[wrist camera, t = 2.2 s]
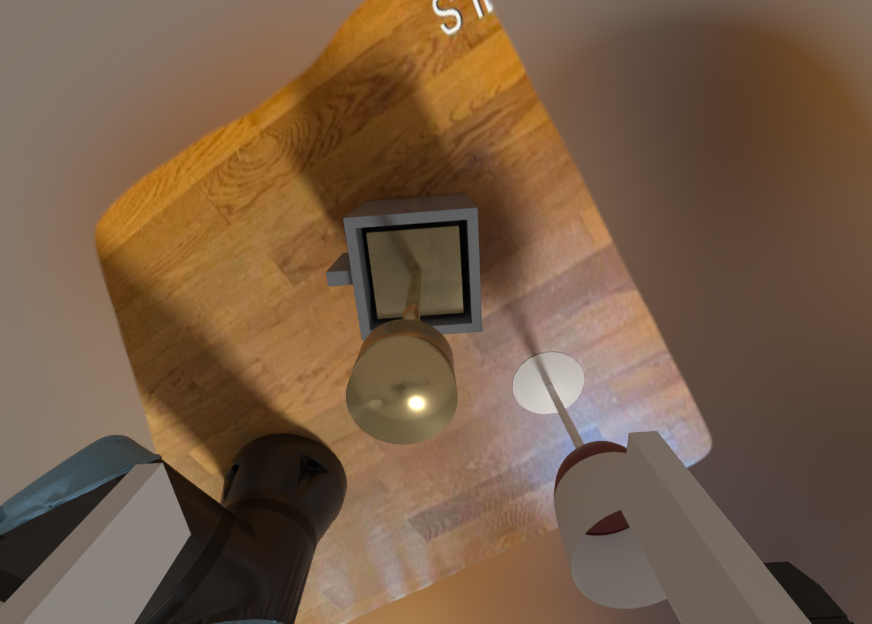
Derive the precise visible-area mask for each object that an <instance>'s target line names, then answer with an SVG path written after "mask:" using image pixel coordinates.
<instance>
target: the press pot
mask: <svg viewBox="0 0 872 624" xmlns="http://www.w3.org/2000/svg"><path fill="white" fill-rule="evenodd" d="M343 221H344V228H345V234H346V241H347V247H348V253H343V254H342V255H341V256H340V257H339V258H338V259H337V260H336V261H335V263H334V264H333V265H332V266H331V267H330V268H329V269H328V270H327V272H326V276H327V282H328V286H339V285H353V287H354V293H355V300H356V306H357V313H358V319H359V326H360V332H361V339H362V340H365V339H366V337H367V336H368V335H369V334H370V333H371V332H372V331H373V330H374V329H375V328H377V327H378V326H380V325H382V324H384V323H386V322H389V321H393V320H398V319H403V317H396V318H382V319H378V316H377V309H376V301H375V294H374V286H373V279H372V272H371V264H370V257H369V249H368V242H367V235H366V233H367V232H368V231H378V230H392V229H405V228H418V227H431V226H444V225H457V224H458V225H459V238H460V257H461V276H462V295H463V313H451V314H437V315H423V316H420V321H421V322H424V323H427V324H428V325H430V326H432V327H434V328H435V329H437V330H438V331H439V332H440V333H441V334H454V333H468V332H482V315H481V287H480V259H479V231H478V208H477V206H476V205H475V204H474V203H473V202H472V201H471V200H470V198H469V197H468V196H467V195H466V194H465V193H462V194H450V195H437V196H424V197H411V198H398V199H385V200H372V201H366V202H365V203H363V204H362V205H360V206H359V207H358V208H356V209H355V210H353V211H352V212H351V213H349V214H348V215H347V216H345V217H344V218H343Z"/></svg>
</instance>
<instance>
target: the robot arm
mask: <svg viewBox="0 0 872 624" xmlns="http://www.w3.org/2000/svg"><path fill="white" fill-rule="evenodd" d="M161 458H162V457H161V456H160V455H159V454H154V453H152V452H150V451H149V450H147V449H146V448H144V447H143V446H141V445H140V444H138V443H137V442H135V441H134V440H132V439H131V438H129V437H127V436H123V435H111V436H106V437H103V438H101V439H99V440H97V441H95V442H93V443H92V444H90V445H88V446H87V447H85V448H84V449H82V450H80V451H79V452H77V453H76V454H74V455H73V456H71V457H70V458H68V459H66V460H65V461H63V462H62V463H60V464H59V465H58V466H56V467H55V468H53V469H52V470H50V471H49V472H47V473H46V474H44V475H43V476H41V477H40V478H38V479H37V480H36V481H34V482H33V483H31V484H30V485H28V486H27V487H25V488H24V489H23V490H21V491H20V492H18V493H17V494H16V495H14V496H13V497H11V498H10V499H9V500H7V501H6V502H4V503H3V505H1V506H0V624H294V622H295V619H296V615H297V612H298V608H299V605H300V601H301V598H302V594H303V591H304V587H305V584H306V580H307V577H308V573H309V570H310V566H311V563H312V559H313V555H314V552H315V549H316V546H317V544H318V542H319V541H320V539H321V538H322V537H323V535H324V534H325V532H326V531H327V530H328V528H329V527H330V525H331V524H332V522H333V521H334V520H335V518H336V517H337V515H338V514H339V512H340V510H341V508H342V505H343V501H344V497H345V493H346V488H347V480H346V475H345V472H344V469H343V467H342V465H341V464H340V462H339V461H338V459H337V458H336V457H335V456H334V455H333V454H332V453H331V452H330V451H329V450H328V449H326V448H325V447H324V446H322V445H320V444H319V443H317V442H315V441H313V440H310V439H307V438H304V437H301V436H296V435H289V434H276V435H269V436H264V437H261V438H258V439H256V440H254V441H252V442H250V443H249V444H247V445H246V446H245V447H243V448H242V449H241V450H240V452H239V453H238V454H237V456H236V457H235V459H234V460H233V462H232V464H231V465H230V467H229V469H228V471H227V473H226V476H225V480H224V485H223V491H222V496H221V501H220V503H218V502H217V501H216V500H214V499H213V498H212V497H210V496H209V495H208V494H206V493H205V492H204V491H202V490H201V489H200V488H198V487H197V486H196V485H194V484H193V483H192V482H190V481H189V480H188V479H186V478H185V477H184V476H182V475H181V474H180V473H179V472H177V471H176V470H175V469H174V468H172V467H171V466H170V465H169V464H167V463H166V462H165V461H163V460H162V459H161ZM620 509H621V511H622V513H623V515H624V517H625V519H626V521H627V522H628V524H629V526H630V528H631V530H632V532H633V534H634V536H635V538H636V540H637V541H638V543H639V545H640V547H641V549H642V551H643V553H644V555H645V557H646V559H647V560H648V562H649V564H650V566H651V568H652V570H653V572H654V574H655V576H656V578H657V579H658V581H659V583H660V585H661V587H662V589H663V591H664V593H665V595H666V597H667V598H668V600H669V602H670V604H671V606H672V608H673V610H674V612H675V614H676V616H677V617H678V619H679V621H680V623H681V624H854V623H853V622H850V621H849V620H848V619H847V615H846V614H845V613H844V612H843V611H842V610H841V609H840V607H839V606H838V605H837V604H836V603H835V602H834V601H833V600H832V598H831V597H830V596H829V595H828V594H827V593H826V592H825V591H824V590H823V588H822V587H821V586H820V585H818V584H817V583H816V582H814V581H813V580H812V579H810V578H809V577H808V576H806V575H805V574H804V573H802V572H801V571H800V570H798V569H797V568H796V567H794V566H793V565H792V564H790V563H789V562H772V563H762V561H761V560H760V559H759V558H758V556H757V555H756V554H755V553H754V551H753V550H752V549H751V548H750V547H749V545H748V544H747V543H746V541H745V540H744V539H743V538H742V536H741V535H740V534H739V533H738V532H737V530H736V529H735V528H734V527H733V525H732V524H731V523H730V522H729V521H728V519H727V518H726V517H725V515H724V514H723V513H722V512H721V510H720V509H719V508H718V507H717V505H716V504H715V503H714V502H713V501H712V499H711V498H710V497H709V495H708V494H707V493H706V492H705V491H704V489H703V488H702V487H701V486H700V484H699V483H698V482H697V481H696V479H695V478H694V477H693V476H692V474H691V473H690V472H689V471H688V469H687V468H686V467H685V466H684V464H683V463H682V462H681V461H680V459H679V458H678V457H677V456H676V454H675V453H674V452H673V451H672V449H671V448H670V447H669V446H668V444H667V443H666V442H665V441H664V440H663V438H662V437H661V436H660V435H659V433H658V432H657V431H650V432H635V433H629V436H628V444H627V453H626V461H625V469H624V478H623V486H622V494H621V503H620Z"/></svg>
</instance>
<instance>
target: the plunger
mask: <svg viewBox="0 0 872 624" xmlns="http://www.w3.org/2000/svg"><path fill="white" fill-rule="evenodd" d="M366 235H367V242H368V249H369V257H370V264H371V272H372V279H373V286H374V294H375V301H376V309H377V316H378V319H382V318H396V317H403V319H398V320H393V321H389V322H386V323H384V324H382V325H380V326H378V327H377V328H375V329H374V330H373V331H372V332H371V333H370V334H369V335H368V336H367V337H366V339H365V340H364V342H363V344H362V346H361V349H360V351H359V354H358V357H357V360H356V362H355V365H354V368H353V371H352V373H351V376H350V379H349V382H348V385H347V389H346V402H347V406H348V410H349V412H350V414H351V416H352V418H353V420H354V421H355V422H356V424H357V425H358V426H359V427H360V428H361V429H362V430H363V431H365V432H366V433H367V434H369V435H371V436H372V437H374V438H376V439H378V440H381V441H384V442H388V443H393V444H413V443H418V442H422V441H425V440H427V439H429V438H431V437H433V436H435V435H436V434H438V433H439V432H441V431H442V430H443V429H444V428H445V427H446V426H447V425H448V423H449V422H450V420H451V419H452V417H453V415H454V413H455V410H456V406H457V387H456V378H455V369H454V360H453V353H452V350H451V347H450V345H449V343H448V342H447V340H446V338H445V337H444V336H443V335H442V334H441V333H440V332H439V331H438V330H437V329H435V328H434V327H432V326H430V325H428V324H427V323H424V322H421V321H420V316H423V315H437V314H451V313H463V295H462V276H461V257H460V238H459V225H458V224H457V225H444V226H431V227H418V228H405V229H392V230H378V231H368V232H367V233H366Z"/></svg>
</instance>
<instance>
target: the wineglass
mask: <svg viewBox="0 0 872 624" xmlns="http://www.w3.org/2000/svg"><path fill="white" fill-rule="evenodd" d="M583 385H584V374H583V371H582V369H581V367H580V365H579V364H578V363H577V362H576V361H575V360H574V359H573V358H572V357H570V356H568V355H565V354H563V353H557V352H547V353H541V354H538V355H536V356H534V357H531V358H529V359H528V360H527V361H526V362H525V363H523V364H522V365H521V366H520V367H519V369H518V371H517V372H516V374H515V376H514V380H513V385H512V386H513V393H514V396H515V398H516V400H517V401H518V403H519V404H520V405H521V406H523V407H524V408H525V409H526V410H529V411H531V412H534V413H539V414H550V413H556V412H558V413H559V415H560V417H561V419H562V421H563V423H564V425H565V427H566V429H567V431H568V433H569V435H570V437H571V439H572V441H573V443H574V445H575V447H576V449H575V450H574V451H572V452H571V453H570V454H569V455H568V456H567V457H566V458H565V460H564V461H563V463H562V464H561V466H560V468H559V471H558V474H557V476H556V481H555V489H554V505H555V512H556V517H557V522H558V527H559V531H560V535H561V539H562V543H563V547H564V551H565V555H566V558H567V562H568V565H569V568H570V571H571V574H572V577H573V580H574V582H575V584H576V586H577V587H578V589H579V590H580V591H581V592H582V593H583V594H584V595H585V596H586V597H587V598H589V599H590V600H592V601H593V602H596V603H598V604H600V605H604V606H607V607H613V608H619V609H622V608H623V609H630V608H639V607H645V606H648V605H652V604H655V603H658V602H660V601H663V600H665V599H667V597H666V595H665V593H664V591H663V589H662V587H661V585H660V583H659V581H658V579H657V578H656V576H655V574H654V572H653V570H652V568H651V566H650V564H649V562H648V560H647V559H646V557H645V555H644V553H643V551H642V549H641V547H640V545H639V543H638V541H637V540H636V538H635V536H634V534H633V532H632V530H631V528H630V526H629V524H628V522H627V521H626V519H625V517H624V515H623V513H622V511H621V509H620V503H621V494H622V486H623V478H624V469H625V461H626V453H627V448H625V447H624V446H621V445H619V444H616V443H613V442H608V441H595V442H590V443H587V444H584V443H583V441H582V439H581V437H580V435H579V434H578V432H577V430H576V428H575V426H574V424H573V422H572V420H571V418H570V417H569V415H568V413H567V411H566V408H567V407H569V406H570V405H571V404H572V403H574V402H575V401H576V399H577V398H578V396H579V395H580V394H581V392H582V388H583Z"/></svg>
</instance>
